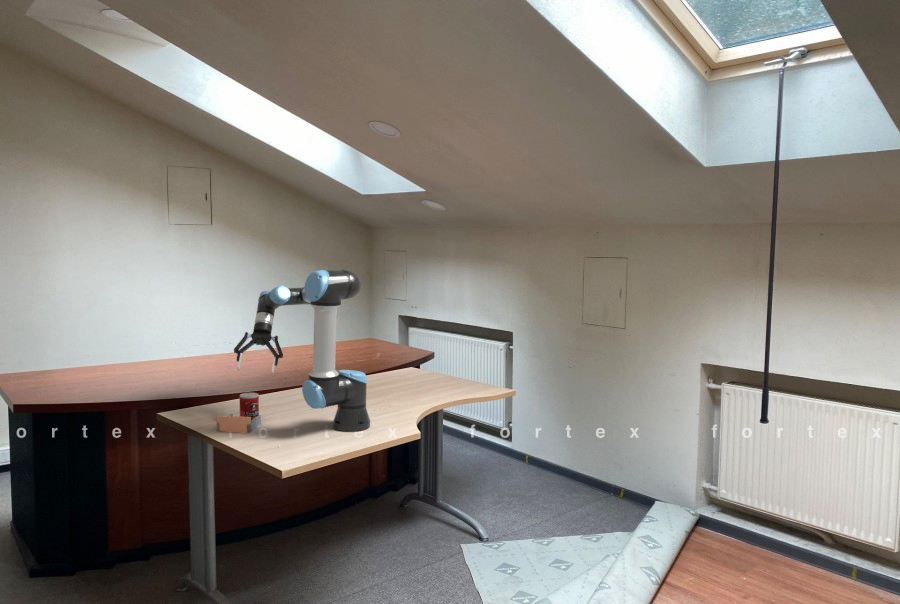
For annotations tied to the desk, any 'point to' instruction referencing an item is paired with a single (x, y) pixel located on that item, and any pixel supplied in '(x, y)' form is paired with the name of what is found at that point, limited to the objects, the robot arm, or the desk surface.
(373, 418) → the desk surface
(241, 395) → the canned food
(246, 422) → the bracket
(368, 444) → the desk surface
